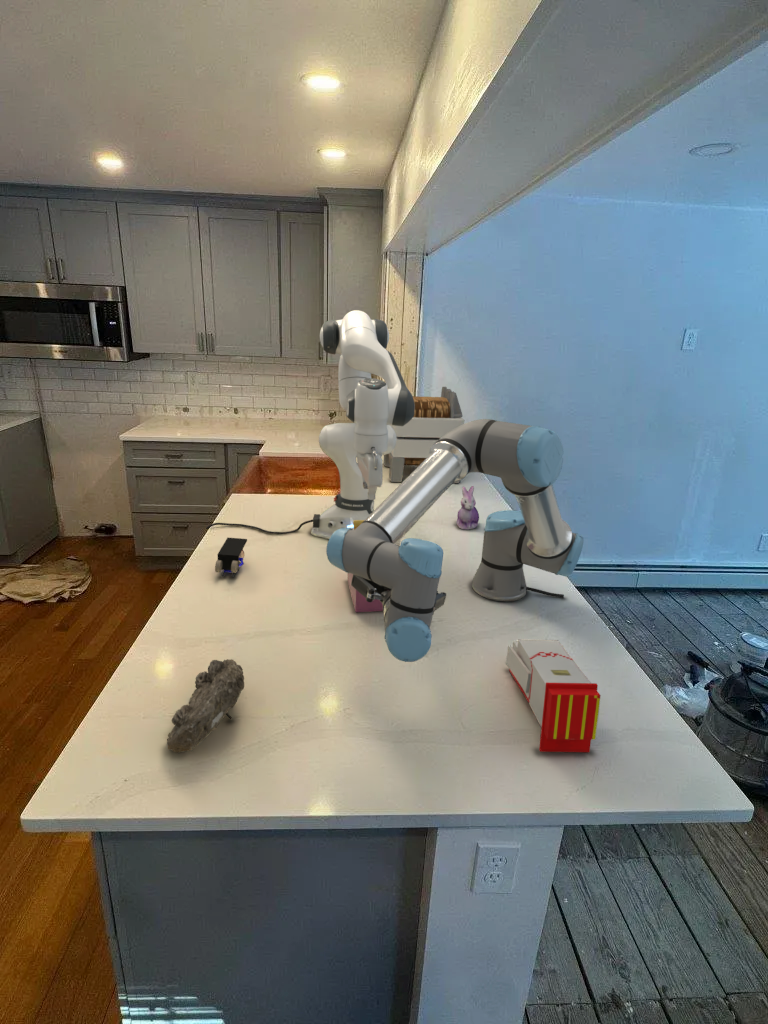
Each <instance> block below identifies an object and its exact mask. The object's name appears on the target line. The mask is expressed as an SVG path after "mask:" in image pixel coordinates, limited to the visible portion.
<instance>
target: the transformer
mask: <svg viewBox="0 0 768 1024" xmlns="http://www.w3.org/2000/svg"><path fill="white" fill-rule="evenodd" d="M440 393H441V394H440V396H415V395H414V396H413V395H412V396H413V399H414V404H415V411H414V416H413V418H412V419H411V420H410V421H409V422H408V423H407V424H405V425H404V426H394V425H390V426H391V427H392V428H393V429H394V431H395V433H396V437H397V441H396V446H395V448H394V450H393V451H392V452H391V453H389V454H385V455H383V462H382V465H383V466H384V467H388V468H389V475H388V476H389V477H388V478H389V480H390V482H391V483H402V482H403V475H404V469H405V466H406V467H407V466H411V467H412V466H413V467H415V466H416V467H418V466H419V465H420V464H421V463H422V462H423V461H424V460H425V459H426V458H427V457H428V456H429V450H430V448H431V447H432V446H433V445H434V444H435V443H436V442H437V441H438V440H439V439H440V438H441V437H442V436H444V435H445V434H446V433H448V432H449V431H451V430H453V429H455V428H456V427H458V426H461V425H463V424H465V419H464V418H463V411H462V408H461V405H460V402H459V398H458V395H457V392H455V391H453V390H452V389H451V388H447V386H442V387H441V392H440ZM455 483H456V484H459V483H461V480H457V481H454V482H453V483H452V484H455Z"/></svg>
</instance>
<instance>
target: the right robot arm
mask: <svg viewBox="0 0 768 1024" xmlns="http://www.w3.org/2000/svg"><path fill="white" fill-rule="evenodd" d="M563 445H564V444H563V442H562V439H561V437H560V436H559V434H558V432H555V431H554V430H552V429H548V428H544V427H542V426H540V425H529V424H522V423H515V422H509V421H503V420H502V421H501V420H496V419H492V418H478V419H475V420H470V421H467V422H464V424H463V425H461V426H458V427H456V428H455V429H453V430H451V431H449V432H448V433H446V434H445V435H444V436H442V437H441V438H440V439H439V440H438V441H437V442H436V443H435V444H434V445H433V446H432V447H431V448H430V450H429V456H428V457H427V458H426V459H425V460H424V461H423V462H422V463H421V464H420V465H419V466H416V468H415V469H414V470H413V471H412V472H411V473H410V474H409V475H408V476H407V477H406V478H405V479H404V480H402V482H400V484H399V485H398V486H397V487H396V488H395V489H394V490H393V491H392V492H391V493H390V494H389V495H387V497H386V498H385V499H384V500H383V501H382V502H381V503H380V504H379V505H378V506H377V507H376V508H374V510H373V512H372V513H371V514H370V515H369V516H368V517H367V518H366V519H365V520H364V521H363V522H362V523H361V524H360V525H359V526H358V527H357V528H356V529H355V530H353V529H351V528H349V529H348V528H341V529H338V530H336V531H335V532H334V533H333V534H332V535H331V537H330V539H328V541H327V545H326V551H325V552H326V557H327V560H328V562H329V563H330V564H331V565H332V566H333V567H335V568H337V569H339V570H341V571H343V572H345V573H347V574H348V573H352V574H353V578H352V582H351V586H353V587H354V588H355V589H356V590H357V591H358V592H359V593H361V594H362V595H363V596H364V597H365V598H366V601H367V602H372V600H374V599H377V600H380V602H381V603H382V604H383V611H382V613H383V622H384V623H383V624H384V641H385V645H386V646H387V650H388V651H389V653H390V654H391V656H392V657H394V658H395V659H397V660H399V661H401V662H404V663H413V662H417V661H419V660H421V659H423V658H425V656H426V655H428V653H429V652H430V649H431V646H432V637H433V634H432V630H431V626H432V620H433V615H434V613H435V611H437V610H439V609H440V608H442V607H443V606H444V605H445V601H446V597H447V593H446V592H444V591H441V592H439V591H438V588H439V583H440V579H441V576H442V573H443V572H442V567H443V560H444V550H443V548H442V546H441V545H439V544H438V543H436V542H434V541H430V540H426V539H421V538H414V537H409V538H404V537H405V536H406V535H407V534H408V533H409V532H410V530H412V529H413V527H414V526H415V525H416V524H417V523H418V522H419V521H420V519H422V517H423V516H424V515H425V514H427V512H428V511H429V510H430V509H431V507H433V505H434V504H435V503H436V502H437V501H438V500H439V499H440V498H441V497H442V495H443V494H444V493H445V492H446V491H447V490H448V489H449V488H450V487H451V486H452V484H454V483H453V482H454V481H457V480H460V481H461V480H463V479H464V478H465V477H466V476H467V475H468V474H470V473H479V474H483V475H488V476H492V477H496V478H500V480H501V482H502V485H503V487H504V489H505V490H506V491H508V492H509V493H510V494H512V495H513V496H514V497H515V499H516V502H517V505H518V508H519V510H515V509H514V510H513V509H511V510H510V509H505V510H498V511H494V512H492V513H490V514H488V516H487V517H486V518H485V523H484V524H485V525H484V527H483V542H482V549H481V559H480V560H481V561H480V563H479V565H478V567H477V568H476V571H475V574H474V575H473V578H472V581H471V582H472V583H471V587H472V590H473V591H474V592H475V593H476V594H478V595H479V596H481V597H483V598H486V599H488V600H491V601H497V602H515V601H518V600H521V599H523V598H524V597H525V596H526V594H527V591H528V592H533V593H537V594H541V595H545V596H548V597H554V598H562V599H564V598H565V595H564V594H563V593H562V594H561V593H554V592H550V591H545V590H543V589H542V590H541V589H538V588H534V587H529V586H527V581H526V576H525V573H524V565H526V566H528V567H532V568H535V569H538V570H542V571H545V572H548V573H550V574H554V575H556V576H562V577H569V576H571V575H572V573H574V571H575V569H576V566H577V565H578V562H579V560H580V557H581V554H582V551H583V548H584V541H585V540H584V536H583V535H582V534H579V533H578V532H573V531H572V529H571V526H570V525H569V523H568V522H567V521H565V520H564V519H563V518H562V514H561V509H560V507H559V503H558V500H557V496H556V493H555V489H554V483H555V482H556V481H557V480H558V478H559V477H560V474H561V471H562V468H563V464H564V457H563V455H564V446H563ZM403 538H404V539H403ZM401 540H402V541H401ZM400 541H401V542H400ZM398 543H400V545H399V544H398ZM388 590H389V591H388Z"/></svg>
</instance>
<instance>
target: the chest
mask: <svg viewBox="0 0 768 1024" xmlns="http://www.w3.org/2000/svg"><path fill="white" fill-rule="evenodd" d="M352 578H353V574H352V573H347V585H348V590H349V593H350V597H351V600H352V604H353V608H354V612H355V613H368V612H383V604H382V603H381V602H380V600H377V599H374V600H372V602H367V601H366V598H365V597H364V596H363V595H362V594H361V593H359V592H358V591H357V590H356V589H355V588H354V587H353V586H351V582H352ZM388 591H389V590H388Z"/></svg>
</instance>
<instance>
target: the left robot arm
mask: <svg viewBox="0 0 768 1024" xmlns="http://www.w3.org/2000/svg"><path fill="white" fill-rule="evenodd" d="M389 340H390V332H389V328H388V325H387V323H386V322H385V321H384V320H382V319H378V318H373V319H371V317H370V315H369V314H368V313H366V312H365V311H363V310H358V309H354V310H351V311H349V312H347V313H346V314H345V315H344V316H343V318H342V319H336V320H335V319H329V320H327V321H325V322H323V324H322V325H321V327H320V330H319V343H320V345H321V347H322V350H323V351H324V352H325V353H327V354H328V355H329V354H330V355H336V354H337V355H340V356H339V361H338V373H337V382H338V401H339V406H340V407H341V409H342V410H343V411H345V417H346V418H347V419H348V420H350V421H351V422H337V423H331V424H327V425H324V426H323V427H322V429H321V430H320V432H319V435H318V444H319V447H320V450H321V451H322V452H323V454H325V455H326V456H327V457H329V458H330V459H331V460H332V462H333V463H334V464H335V466H336V467H337V470H338V474H339V483H340V484H339V485H340V488H339V489H340V490H339V491H338V492H337V494H336V495H335V496H334V497H333V502H334V504H333V505H331V506H329V507H328V508H326V509H325V510H323V512H321V514H320V513H315V514H313V518H312V519H310V520H306V521H304V522H303V521H302V523H300V524H299V525H298V527H297V528H296V529H293V530H291V531H271V530H266V529H263V528H261V527H257V526H255V525H249V524H243V523H227V522H213V523H211V524H209V525H208V526H206V528H205V530H208V529H210V528H211V527H214V526H228V527H229V526H231V527H245V528H251V529H254V530H258V531H260V532H262V533H266V534H270V535H271V534H273V535H286V534H292V533H296V532H298V531H300V530H301V528H302V527H303V526H304V525H306V524H309V523H312V528H311V530H310V533H311V536H315V537H319V538H323V539H326V540H329V539H330V537H331V535H332V534H333V533H334V532H335V531H336V530H338V529H341V528H348V529H349V528H351V529H353V530H354V527H353V521H354V520H365V519H366V518H367V517H368V516H369V515H370V514H371V513H372V512H373V511H374V510H375V500H376V494H377V490H378V488H381V487H382V485H383V458H382V457H383V456H384V455H385V454H389V453H391V452H392V451H393V450H394V448H395V446H396V441H397V437H396V433H395V431H394V429H393V428H392V427H391V426H390V425H394V426H404V425H405V424H407V423H408V422H409V421H410V420H411V419H412V418H413V416H414V411H415V404H414V399H413V394H412V393H411V391H410V390H409V389H408V386H407V385H406V383H405V382H406V381H405V379H404V378H403V374H402V373H401V370H400V368H399V366H398V364H397V361H396V359H395V357H394V356H393V354H392V352H391V351H389V350H387V347H388V344H389ZM372 375H375V376H377V377H380V378H381V379H378V378H374V377H373V378H372Z"/></svg>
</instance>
